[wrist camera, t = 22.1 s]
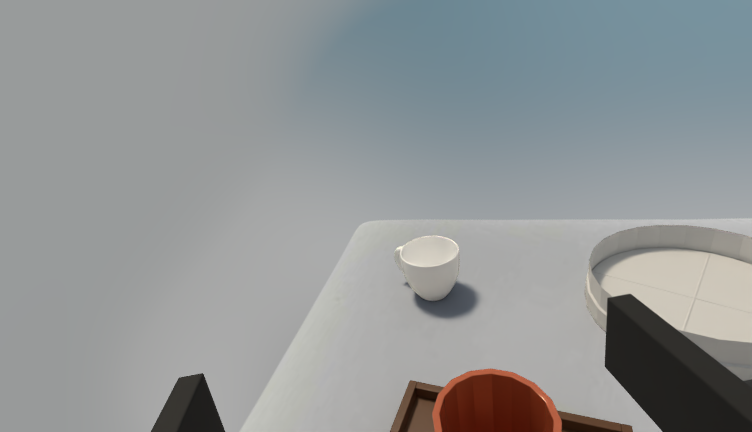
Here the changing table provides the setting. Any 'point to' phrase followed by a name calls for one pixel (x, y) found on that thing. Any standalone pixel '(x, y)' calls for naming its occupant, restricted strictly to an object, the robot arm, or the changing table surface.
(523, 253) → the changing table surface
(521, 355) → the changing table surface
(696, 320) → the dish
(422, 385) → the tray
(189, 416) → the robot arm
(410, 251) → the cup
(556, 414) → the terracotta cup
